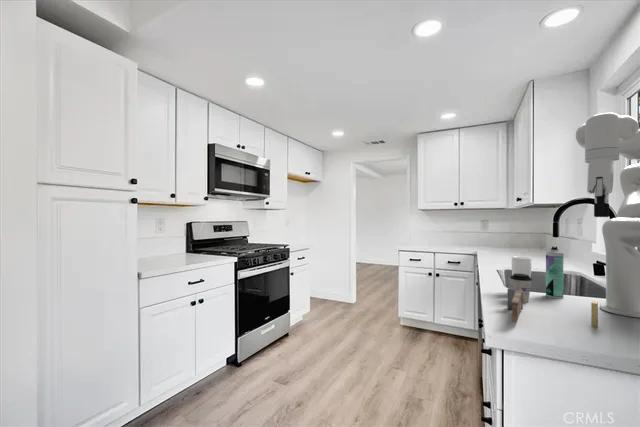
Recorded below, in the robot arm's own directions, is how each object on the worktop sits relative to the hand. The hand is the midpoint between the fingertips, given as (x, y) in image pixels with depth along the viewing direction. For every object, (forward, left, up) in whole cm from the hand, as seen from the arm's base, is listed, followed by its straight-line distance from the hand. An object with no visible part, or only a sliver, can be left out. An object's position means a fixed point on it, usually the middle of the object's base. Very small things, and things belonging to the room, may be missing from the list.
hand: (601, 216), depth 90 cm
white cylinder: (-20, -26, -32) cm, 46 cm away
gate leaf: (+13, -18, -32) cm, 39 cm away
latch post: (+5, -1, -32) cm, 33 cm away
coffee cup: (-8, -23, -32) cm, 40 cm away
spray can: (-25, -16, -32) cm, 44 cm away
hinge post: (+5, -22, -32) cm, 39 cm away
